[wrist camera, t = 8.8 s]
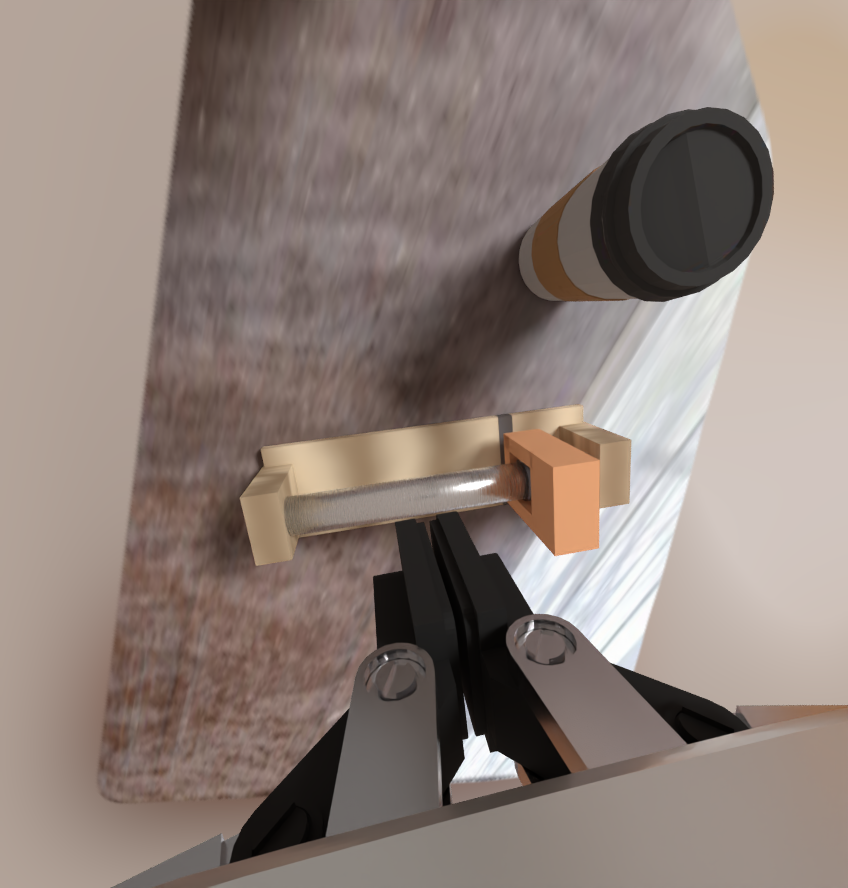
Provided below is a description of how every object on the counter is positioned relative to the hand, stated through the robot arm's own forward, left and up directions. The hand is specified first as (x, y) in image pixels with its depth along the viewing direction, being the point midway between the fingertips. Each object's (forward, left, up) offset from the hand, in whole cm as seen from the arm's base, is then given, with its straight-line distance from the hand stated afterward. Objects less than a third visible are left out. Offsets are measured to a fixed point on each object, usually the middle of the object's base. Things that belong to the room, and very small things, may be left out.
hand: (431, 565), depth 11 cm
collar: (+6, +11, -22) cm, 25 cm away
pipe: (+6, +4, -20) cm, 21 cm away
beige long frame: (+6, +4, -24) cm, 25 cm away
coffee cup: (-10, +15, -24) cm, 30 cm away
